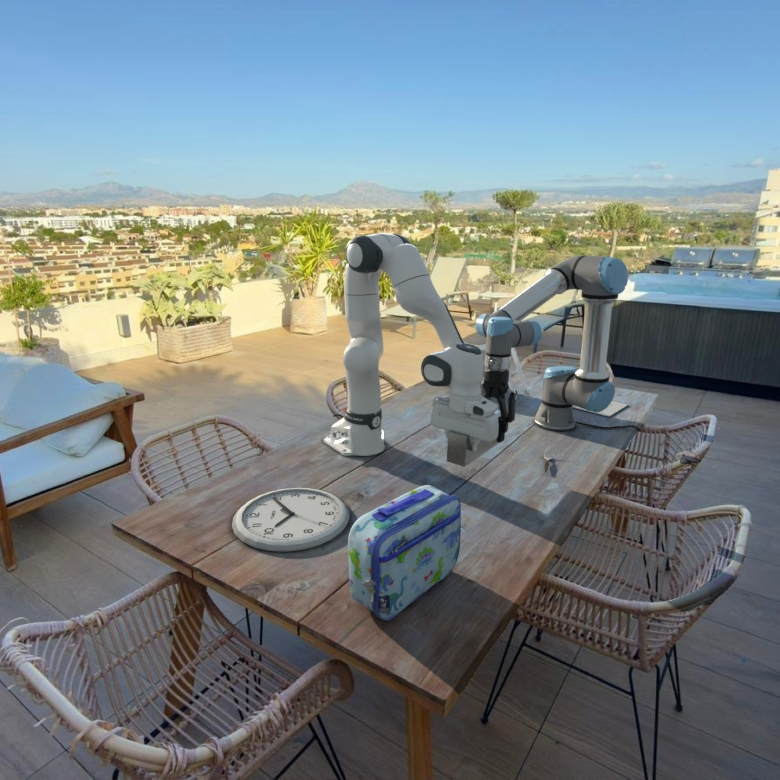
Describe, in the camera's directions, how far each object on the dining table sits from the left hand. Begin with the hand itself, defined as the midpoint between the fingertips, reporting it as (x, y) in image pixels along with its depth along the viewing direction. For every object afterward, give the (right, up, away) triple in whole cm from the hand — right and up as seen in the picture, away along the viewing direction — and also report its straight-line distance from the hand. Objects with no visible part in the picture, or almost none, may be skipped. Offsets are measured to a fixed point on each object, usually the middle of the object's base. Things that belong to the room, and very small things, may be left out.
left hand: (462, 447), depth 150 cm
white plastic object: (+21, +15, +93) cm, 96 cm away
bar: (+6, -2, +9) cm, 11 cm away
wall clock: (-46, -17, -14) cm, 51 cm away
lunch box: (-17, -26, -40) cm, 51 cm away
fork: (+30, -8, +20) cm, 37 cm away
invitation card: (+71, +9, +76) cm, 104 cm away
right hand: (+12, +1, +16) cm, 20 cm away
